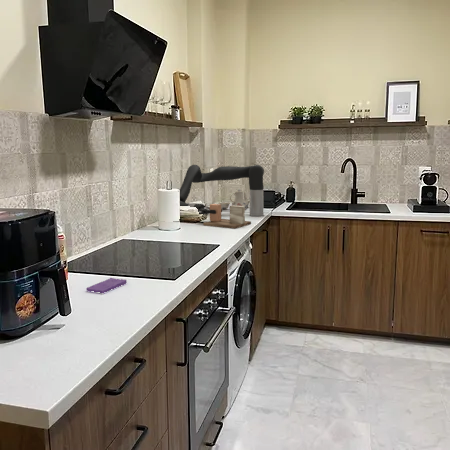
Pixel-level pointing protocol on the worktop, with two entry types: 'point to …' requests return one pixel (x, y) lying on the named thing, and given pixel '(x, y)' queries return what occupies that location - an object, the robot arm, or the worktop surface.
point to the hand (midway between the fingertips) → (218, 211)
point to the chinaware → (236, 200)
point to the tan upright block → (218, 212)
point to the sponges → (106, 285)
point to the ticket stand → (231, 219)
